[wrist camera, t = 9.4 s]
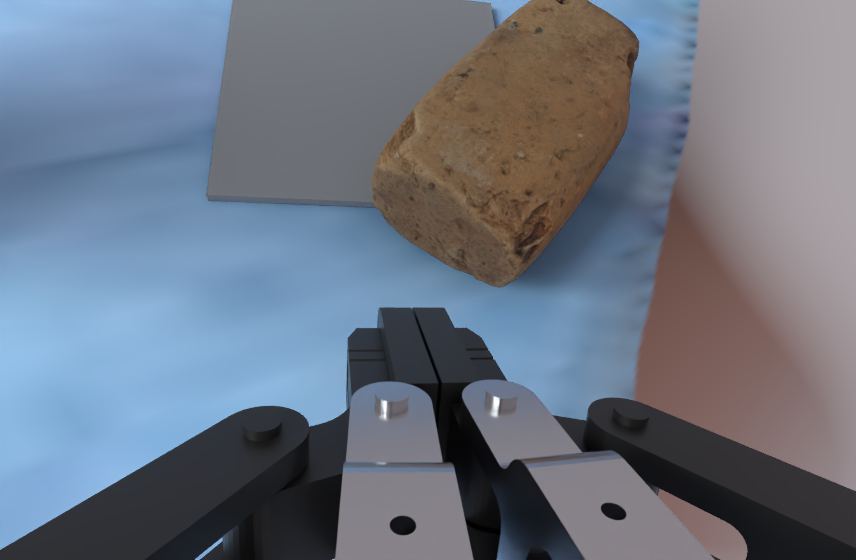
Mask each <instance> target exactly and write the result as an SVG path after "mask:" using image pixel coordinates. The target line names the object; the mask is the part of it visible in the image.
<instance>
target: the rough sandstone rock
mask: <svg viewBox="0 0 856 560" xmlns="http://www.w3.org/2000/svg"><path fill="white" fill-rule="evenodd" d="M638 50H639V41H638V39H637V37H636V35H635V34H634V33H633V32H632V31H631V30H630V29H629V28H628V27H627V26H626V25H625V24H624V23H622V22H621V21H620V20H618V19H617V18H615V17H614V16H612V15H611V14H609V13H608V12H606V11H605V10H603V9H601V8H599V7H597V6H596V5H594V4H592V3H591V2H589V1H588V0H531V1H530V2H528V3H527V4H525V5H524V6H523V7H521V8H520V9H518V10H517V11H516V12H515V13H514V14H512V15H511V16H510V17H508V18H507V19H506V20H505V21H504V22H503V23H502V24H500V25H499V26H498V27H497V28H496V29H495V30H494V31H493V32H491V33H490V34H489V35H488V36H487V37H486V38H485V39H484V40H483V41H481V42H480V43H479V44H478V45H477V46H476V47H475V48H473V49H472V50H471V51H470V52H468V53H467V54H466V55H465V56H464V57H463V58H462V59H461V60H459V61H458V62H457V63H456V64H455V65H454V66H453V67H452V68H451V69H450V70H449V71H448V72H447V73H445V74H444V75H443V76H442V77H441V78H440V79H439V80H438V82H437V83H436V84H435V85H434V86H433V87H432V88H431V89H430V90H429V91H428V92H427V93H426V94H425V95H424V96H423V97H422V98H421V100H420V101H419V102H418V103H417V104H416V105H415V106H414V108H413V109H412V111H411V112H410V113H409V115H408V116H407V118H406V119H405V120H404V121H403V123H402V124H401V125H400V126H399V128H398V129H397V130H396V131H395V133H394V134H393V136H392V137H391V139H390V140H389V141H388V143H387V144H386V145H385V147H384V148H383V150H382V151H381V153H380V155H379V157H378V160H377V162H376V165H375V167H374V170H373V175H372V182H371V186H372V193H373V197H372V200H373V203H374V204H375V207H376V208H377V209H379V210H380V212H381V213H382V215H383V216H384V218H385V219H386V220H387V222H388V223H389V224H390V225H391V226H392V227H393V228H394V229H396V230H397V231H398V232H399V233H400V234H401V235H402V236H403V237H404V238H406V239H407V240H408V241H410V242H411V243H413V244H414V245H416V246H418V247H419V248H421V249H423V250H425V251H426V252H428V253H429V254H430V255H432V256H434V257H435V258H437V259H439V260H440V261H442V262H443V263H445V264H447V265H448V266H450V267H452V268H454V269H456V270H459V271H462V272H466V273H468V274H471V275H473V276H474V277H475V278H476V279H478V280H480V281H483V282H485V283H487V284H489V285H491V286H495V287H503V286H505V285H507V284H509V283H510V282H512V281H514V280H515V279H516V278H518V277H519V276H520V275H521V274H522V273H523V272H524V271H525V270H526V269H527V268H528V267H529V266H530V265H531V264H532V263H533V262H534V261H535V260H536V259H537V258H538V257H539V255H540V254H541V253H542V252H543V251H544V249H545V248H546V247H547V246H548V245H549V243H550V242H551V241H552V240H553V238H554V237H555V236H556V235H557V233H558V232H559V231H560V229H561V228H562V227H563V226H564V224H565V223H566V222H567V220H568V219H569V218H570V216H571V215H572V214H573V212H574V211H575V209H576V208H577V207H578V205H579V204H580V202H581V201H582V199H583V198H584V196H585V195H586V193H587V192H588V190H589V189H590V187H591V186H592V184H593V183H594V182H595V180H596V179H597V177H598V176H599V174H600V173H601V172H602V170H603V169H604V167H605V165H606V164H607V162H608V161H609V159H610V158H611V156H612V155H613V153H614V151H615V150H616V148H617V146H618V144H619V143H620V140H621V138H622V137H623V135H624V132H625V130H626V127H627V122H628V116H629V109H630V105H629V94H630V85H631V77H632V72H633V68H634V62H635V61H636V59H637V56H638Z"/></svg>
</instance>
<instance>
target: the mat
mask: <svg viewBox="0 0 856 560" xmlns="http://www.w3.org/2000/svg"><path fill="white" fill-rule="evenodd" d="M494 30H495V26H494V20H493V14H492V8H491V3H485V2H476V1H467V0H233V3H232V10H231V17H230V25H229V32H228V40H227V47H226V54H225V62H224V69H223V77H222V84H221V91H220V99H219V106H218V114H217V121H216V128H215V136H214V143H213V151H212V158H211V165H210V173H209V180H208V188H207V198H208V200H209V201H233V202H257V203H281V204H305V205H329V206H354V207H375V204H374V203H373V200H372V197H373V193H372V186H371V182H372V175H373V170H374V167H375V165H376V162H377V160H378V157H379V155H380V153H381V151H382V150H383V148H384V147H385V145H386V144H387V143H388V141H389V140H390V139H391V137H392V136H393V134H394V133H395V131H396V130H397V129H398V128H399V126H400V125H401V124H402V123H403V121H404V120H405V119H406V118H407V116H408V115H409V113H410V112H411V111H412V109H413V108H414V106H415V105H416V104H417V103H418V102H419V101H420V100H421V98H422V97H423V96H424V95H425V94H426V93H427V92H428V91H429V90H430V89H431V88H432V87H433V86H434V85H435V84H436V83H437V82H438V80H439V79H440V78H441V77H442V76H443V75H444V74H445V73H447V72H448V71H449V70H450V69H451V68H452V67H453V66H454V65H455V64H456V63H457V62H458V61H459V60H461V59H462V58H463V57H464V56H465V55H466V54H467V53H468V52H470V51H471V50H472V49H473V48H475V47H476V46H477V45H478V44H479V43H480V42H481V41H483V40H484V39H485V38H486V37H487V36H488V35H489V34H490V33H491V32H493V31H494Z"/></svg>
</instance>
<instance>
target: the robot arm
mask: <svg viewBox="0 0 856 560" xmlns="http://www.w3.org/2000/svg"><path fill="white" fill-rule="evenodd" d="M346 404H347V410H346V411H345V412H344V413H343V414H342V415H340V416H339V417H337V418H335V419H333V420H331V421H328V422H326V423H322V424H319V425H315V426H310V427H309V423H308V421H307V419H306V418H305V417H304V416H303V415H301V414H300V413H299V412H297V411H295V410H292V409H289V408H285V407H279V406H260V407H254V408H249V409H245V410H242V411H239V412H237V413H235V414H233V415H231V416H229V417H227V418H225V419H224V420H222V421H220V422H219V423H217V424H215V425H213V426H212V427H210V428H208V429H207V430H205V431H203V432H201V433H200V434H198V435H196V436H195V437H193V438H191V439H189V440H188V441H186V442H184V443H183V444H181V445H179V446H178V447H176V448H174V449H172V450H171V451H169V452H167V453H166V454H164V455H162V456H160V457H159V458H157V459H155V460H154V461H152V462H150V463H148V464H147V465H145V466H143V467H142V468H140V469H138V470H136V471H135V472H133V473H131V474H130V475H128V476H126V477H124V478H123V479H121V480H119V481H118V482H116V483H114V484H112V485H111V486H109V487H107V488H106V489H104V490H102V491H100V492H99V493H97V494H95V495H94V496H92V497H90V498H88V499H87V500H85V501H83V502H82V503H80V504H78V505H76V506H75V507H73V508H71V509H70V510H68V511H66V512H65V513H63V514H61V515H59V516H58V517H56V518H54V519H53V520H51V521H49V522H47V523H46V524H44V525H42V526H41V527H39V528H37V529H35V530H34V531H32V532H30V533H29V534H27V535H25V536H23V537H22V538H20V539H18V540H17V541H15V542H13V543H11V544H10V545H8V546H6V547H5V548H3V549H1V550H0V560H195V559H196V558H197V557H198V556H199V555H200V554H202V553H203V552H204V551H205V550H207V549H208V548H209V547H210V546H212V545H213V544H214V543H215V542H217V541H218V540H219V539H220V538H222V537H223V541H222V542H221V543H220V544H219V545H217V546H216V547H215V548H214V549H213V550H211V551H210V552H209V553H208V554H206V555H205V556H204V557H203V558H202V559H200V560H332V559H334V558H335V560H720V559H718V558H716V557H714V556H713V555H711V554H709V553H708V552H707V551H706V550H705V548H704V547H703V546H702V545H701V544H700V543H699V542H698V541H697V539H696V538H695V537H694V536H693V535H692V534H691V533H690V532H689V531H688V530H687V528H686V527H685V526H684V525H683V524H682V523H681V522H680V521H679V520H678V518H677V517H676V516H675V515H674V514H673V513H672V512H671V511H670V510H669V508H668V507H667V506H666V505H665V504H664V503H663V502H662V501H661V500H660V498H658V492H659V488H660V489H662V490H664V491H666V492H668V493H670V494H672V495H674V496H676V497H678V498H680V499H682V500H684V501H686V502H688V503H690V504H692V505H694V506H696V507H698V508H700V509H702V510H704V511H706V512H708V513H710V514H712V515H714V516H716V517H718V518H720V519H722V520H724V521H726V522H727V523H729V524H731V525H732V526H734V527H735V528H736V529H737V530H738V531H739V532H740V533H741V535H742V536H743V538H744V539H745V542H746V544H747V549H748V553H747V557H746V560H856V491H853V490H851V489H849V488H846V487H844V486H841V485H839V484H837V483H834V482H831V481H829V480H827V479H825V478H822V477H820V476H817V475H815V474H812V473H810V472H807V471H805V470H802V469H800V468H798V467H795V466H793V465H791V464H788V463H786V462H783V461H781V460H779V459H776V458H774V457H771V456H769V455H766V454H764V453H762V452H759V451H757V450H754V449H752V448H749V447H747V446H744V445H742V444H740V443H737V442H735V441H733V440H730V439H727V438H725V437H723V436H720V435H718V434H716V433H713V432H710V431H708V430H706V429H703V428H701V427H699V426H696V425H694V424H691V423H689V422H686V421H684V420H682V419H679V418H677V417H674V416H672V415H670V414H667V413H664V412H662V411H660V410H657V409H655V408H652V407H650V406H648V405H645V404H643V403H640V402H637V401H633V400H629V399H623V398H603V399H599V400H596V401H594V402H593V403H592V404H591V405H590V406H589V408H588V414H587V419H586V421H585V420H578V419H572V418H566V417H559V416H554V415H552V414H551V413H550V412H549V411H548V409H547V408H546V407H545V406H544V404H543V403H542V402H541V401H540V399H539V398H538V397H537V396H536V395H535V394H534V393H533V392H532V391H531V390H529V389H527V388H526V387H524V386H521V385H519V384H516V383H513V382H509V381H507V380H506V378H505V376H504V375H503V373H502V371H501V370H500V368H499V366H498V365H497V363H496V361H495V360H493V356H492V355H491V353H490V351H488V348H487V346H486V345H485V343H484V341H483V340H482V338H481V337H480V336H478V335H477V334H475V333H474V332H472V331H471V330H469V329H468V328H454V326H453V324H452V322H451V320H450V318H449V316H448V314H447V312H446V310H445V308H412V309H411V308H379V311H378V323H377V328H356V330H355V331H354V332H353V333H352V334H351V335H350V336H349V337H348V349H347V388H346Z"/></svg>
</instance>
